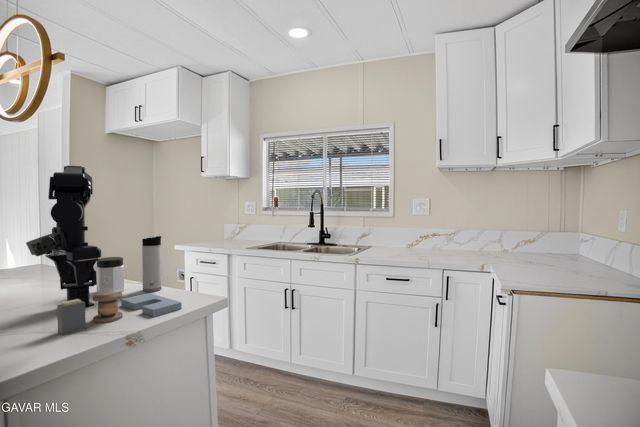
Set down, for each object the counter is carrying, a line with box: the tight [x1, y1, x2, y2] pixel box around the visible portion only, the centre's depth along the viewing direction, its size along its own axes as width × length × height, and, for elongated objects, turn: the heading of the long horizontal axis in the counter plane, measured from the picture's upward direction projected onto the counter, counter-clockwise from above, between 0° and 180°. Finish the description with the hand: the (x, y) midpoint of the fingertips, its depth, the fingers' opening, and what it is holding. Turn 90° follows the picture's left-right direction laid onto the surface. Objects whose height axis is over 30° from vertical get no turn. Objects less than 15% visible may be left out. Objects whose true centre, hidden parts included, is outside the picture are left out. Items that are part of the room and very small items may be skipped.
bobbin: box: [92, 292, 123, 324], centre depth 96 cm, size 7×7×7 cm
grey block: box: [56, 299, 87, 336], centre depth 87 cm, size 3×5×8 cm, turn 146°
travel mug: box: [141, 235, 163, 293], centre depth 126 cm, size 6×7×20 cm
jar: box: [95, 256, 125, 294], centre depth 124 cm, size 9×8×12 cm
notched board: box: [120, 292, 183, 318], centre depth 106 cm, size 18×9×2 cm, turn 56°
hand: (71, 284), depth 87 cm, fingers open, 9 cm apart
